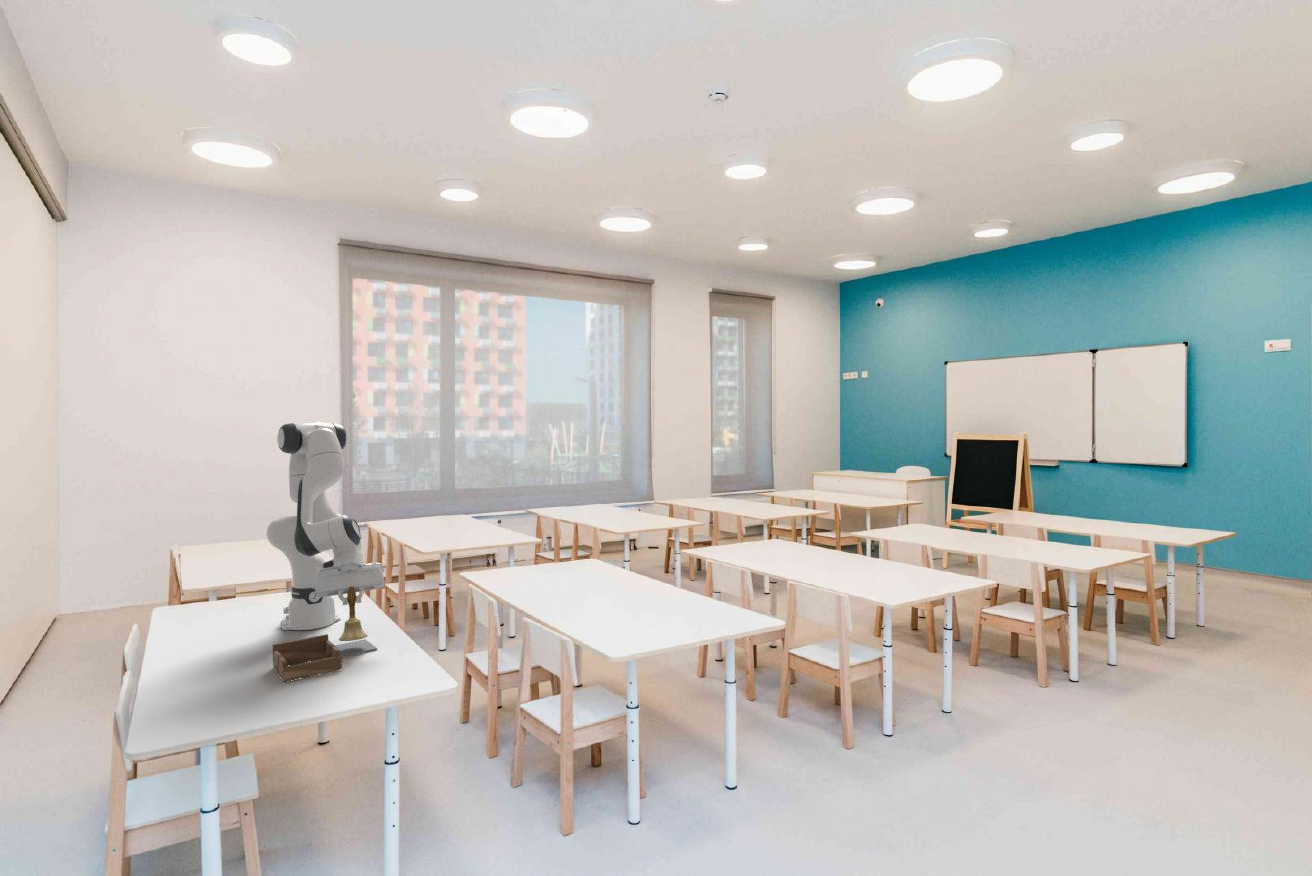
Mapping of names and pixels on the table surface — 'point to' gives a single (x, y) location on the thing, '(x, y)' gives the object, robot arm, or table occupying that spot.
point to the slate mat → (355, 647)
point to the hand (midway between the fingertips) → (351, 603)
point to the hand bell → (352, 621)
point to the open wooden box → (306, 657)
